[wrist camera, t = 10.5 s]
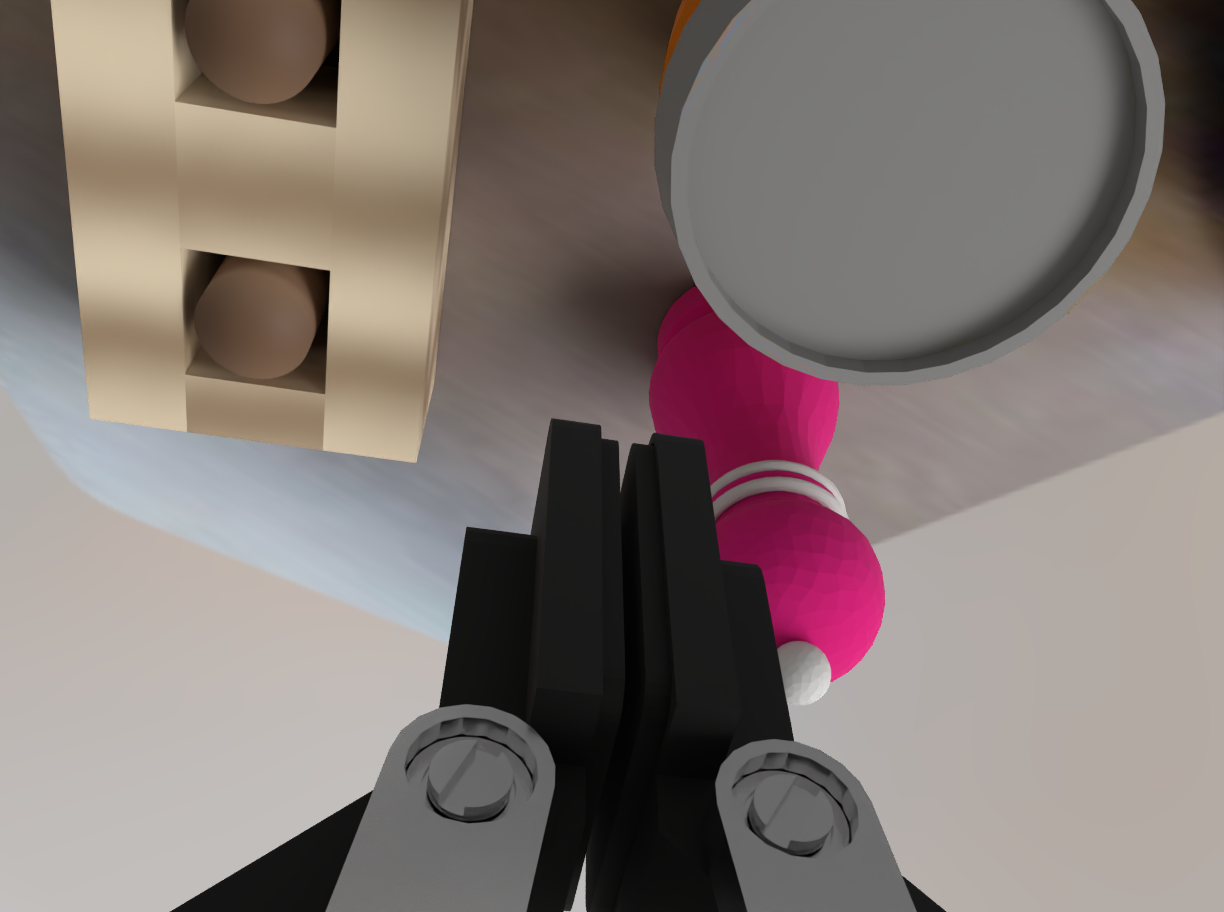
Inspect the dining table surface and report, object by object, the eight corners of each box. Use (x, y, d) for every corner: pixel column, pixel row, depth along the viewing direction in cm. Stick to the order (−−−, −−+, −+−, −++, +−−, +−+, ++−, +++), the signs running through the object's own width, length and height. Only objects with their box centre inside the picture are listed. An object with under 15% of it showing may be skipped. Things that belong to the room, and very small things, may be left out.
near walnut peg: (235, -83, 38) (182, -46, 33) (357, -61, 39) (322, -20, 34) (237, 40, 40) (186, 92, 36) (352, 59, 41) (318, 113, 36)
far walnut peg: (238, 200, 44) (192, 268, 39) (344, 217, 44) (312, 286, 39) (238, 294, 46) (195, 370, 41) (340, 309, 46) (309, 386, 41)
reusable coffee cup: (692, 230, 45) (728, 444, 33) (592, -106, 38) (591, 3, 26) (1017, 133, 43) (1186, 323, 31) (972, -240, 36) (1166, -190, 24)
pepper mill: (626, 285, 46) (642, 627, 30) (804, 242, 45) (922, 570, 29) (667, 431, 50) (701, 803, 34) (831, 393, 49) (949, 759, 33)
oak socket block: (109, -211, 36) (33, -191, 32) (487, -138, 38) (471, -108, 33) (142, 340, 48) (90, 418, 43) (434, 382, 49) (416, 462, 44)
